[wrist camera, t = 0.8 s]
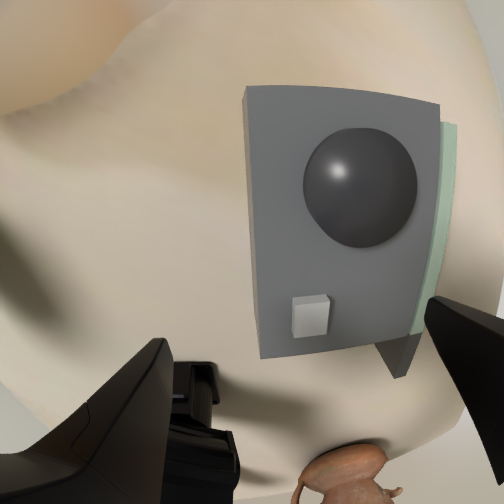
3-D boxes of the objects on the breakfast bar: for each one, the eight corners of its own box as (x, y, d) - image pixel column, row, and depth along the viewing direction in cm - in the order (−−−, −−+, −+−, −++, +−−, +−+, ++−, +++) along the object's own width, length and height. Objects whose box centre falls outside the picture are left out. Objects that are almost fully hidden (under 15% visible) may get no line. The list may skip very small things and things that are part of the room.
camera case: (376, 294, 24) (414, 345, 17) (254, 308, 24) (262, 372, 17) (390, 107, 18) (452, 104, 11) (242, 100, 17) (247, 81, 10)
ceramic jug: (396, 424, 35) (425, 493, 22) (375, 460, 41) (392, 516, 28) (286, 447, 35) (297, 529, 22) (284, 478, 41) (292, 540, 27)
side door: (382, 337, 26) (405, 375, 20) (371, 339, 25) (394, 378, 20) (410, 121, 18) (457, 124, 12) (397, 120, 17) (443, 121, 12)
